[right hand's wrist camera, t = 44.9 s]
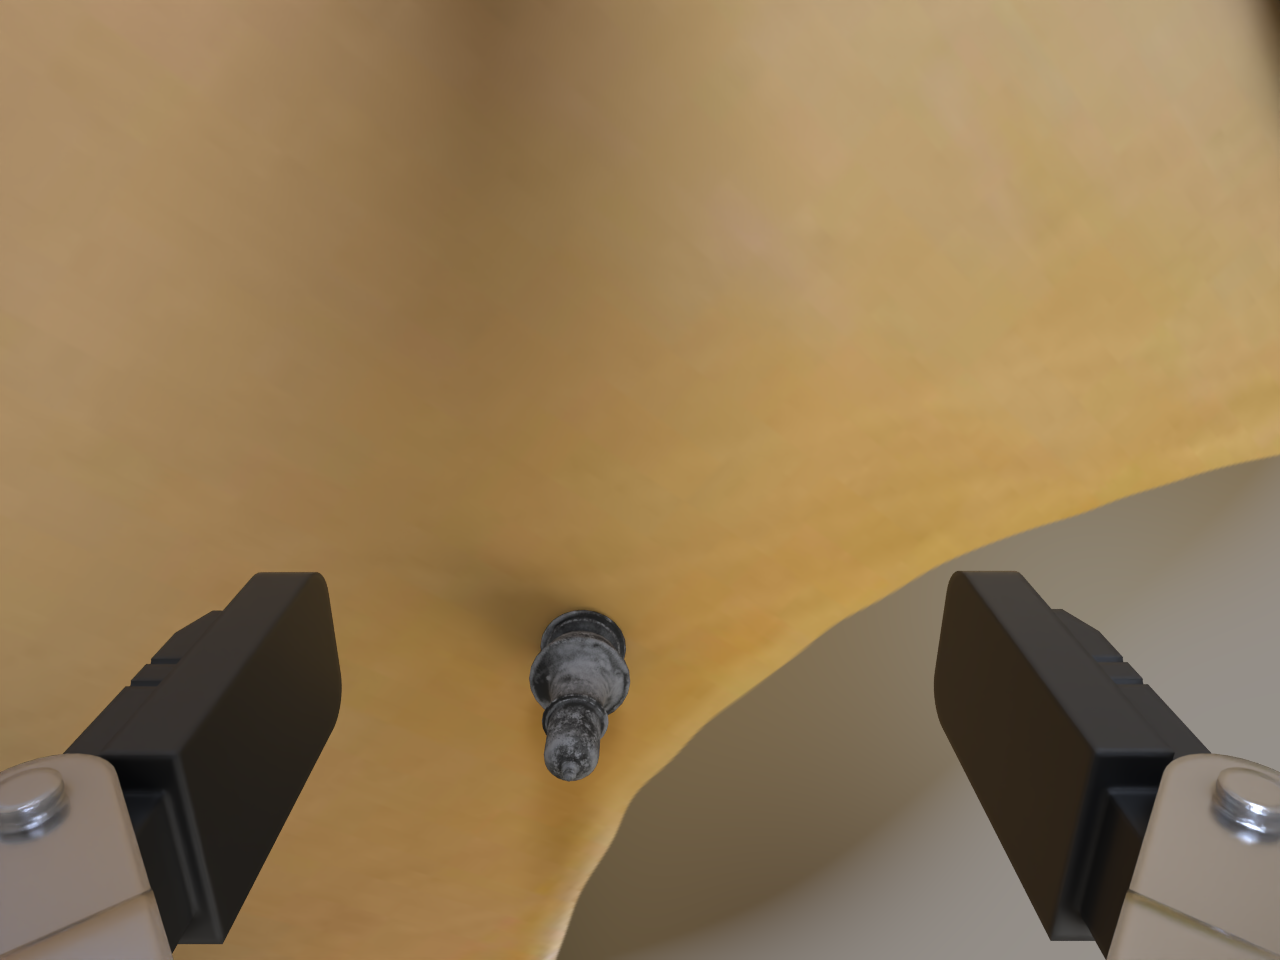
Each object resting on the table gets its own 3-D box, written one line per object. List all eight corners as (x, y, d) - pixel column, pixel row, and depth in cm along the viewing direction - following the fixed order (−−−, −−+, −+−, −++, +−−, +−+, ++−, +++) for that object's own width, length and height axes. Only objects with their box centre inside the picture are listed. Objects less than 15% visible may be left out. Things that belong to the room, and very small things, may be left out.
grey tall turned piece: (650, 650, 54) (652, 784, 43) (581, 702, 56) (566, 845, 45) (585, 588, 53) (570, 710, 41) (516, 644, 54) (484, 777, 43)
